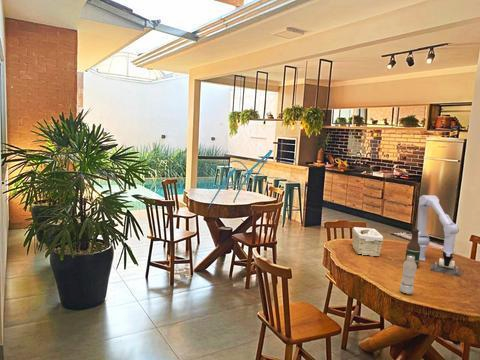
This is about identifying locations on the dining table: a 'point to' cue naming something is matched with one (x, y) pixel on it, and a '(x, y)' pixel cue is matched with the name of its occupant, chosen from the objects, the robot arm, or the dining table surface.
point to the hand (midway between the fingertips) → (446, 264)
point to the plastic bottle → (408, 275)
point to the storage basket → (367, 241)
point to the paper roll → (451, 266)
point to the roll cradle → (446, 270)
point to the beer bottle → (414, 247)
